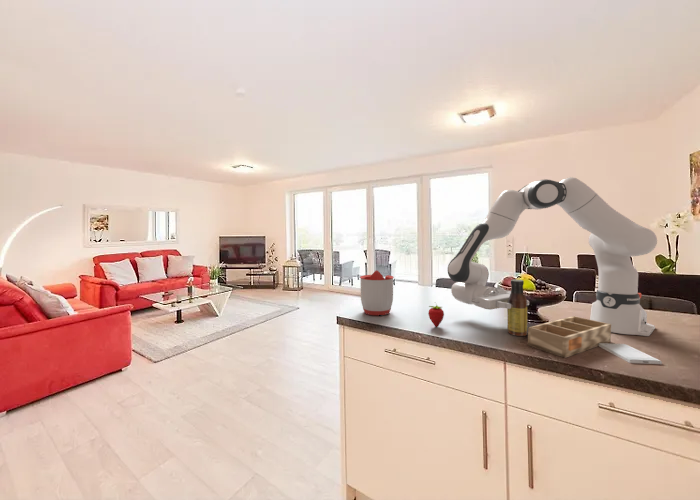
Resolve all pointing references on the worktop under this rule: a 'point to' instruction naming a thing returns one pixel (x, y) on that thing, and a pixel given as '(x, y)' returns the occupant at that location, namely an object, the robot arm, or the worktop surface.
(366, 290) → the citrus juicer
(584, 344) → the condiment caddy
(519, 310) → the sauce bottle
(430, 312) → the strawberry
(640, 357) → the hard drive
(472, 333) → the worktop surface
